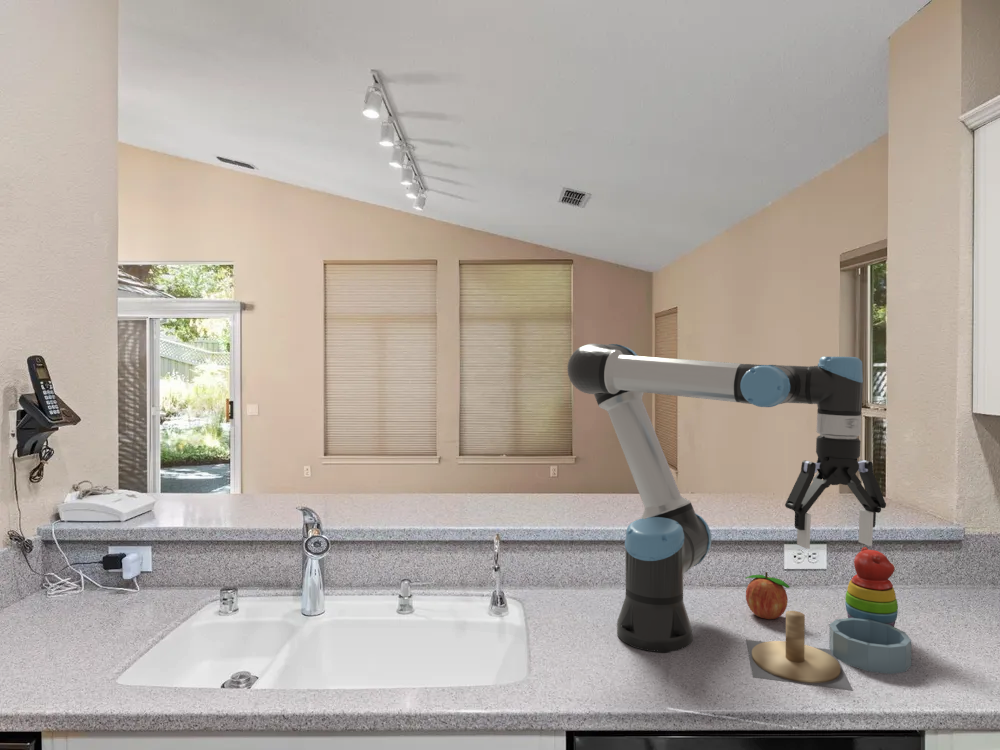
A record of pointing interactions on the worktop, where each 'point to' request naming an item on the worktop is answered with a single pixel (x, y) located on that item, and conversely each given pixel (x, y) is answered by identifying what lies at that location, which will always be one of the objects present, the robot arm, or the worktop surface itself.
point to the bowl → (870, 645)
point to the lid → (796, 655)
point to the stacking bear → (872, 589)
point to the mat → (760, 673)
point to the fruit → (766, 596)
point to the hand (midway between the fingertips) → (834, 545)
